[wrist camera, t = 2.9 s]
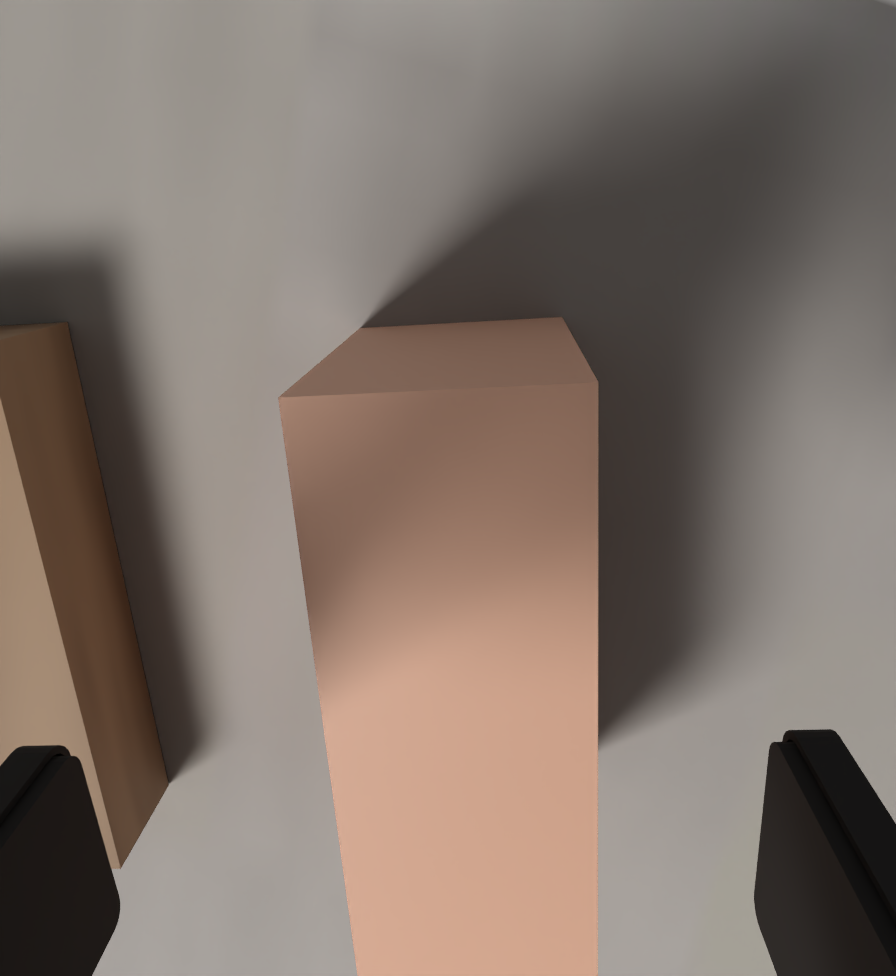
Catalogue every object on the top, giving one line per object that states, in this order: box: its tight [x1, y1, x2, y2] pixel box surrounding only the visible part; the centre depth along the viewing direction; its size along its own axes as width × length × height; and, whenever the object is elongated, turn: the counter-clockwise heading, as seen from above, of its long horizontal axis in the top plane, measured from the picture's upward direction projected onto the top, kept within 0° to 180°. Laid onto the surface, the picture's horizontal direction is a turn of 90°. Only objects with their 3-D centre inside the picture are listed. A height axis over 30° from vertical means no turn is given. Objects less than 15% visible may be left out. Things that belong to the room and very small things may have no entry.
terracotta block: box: [278, 317, 598, 976], centre depth 16 cm, size 4×12×7 cm, turn 4°
